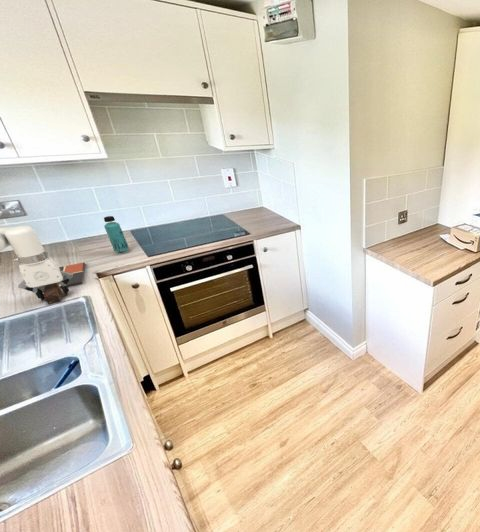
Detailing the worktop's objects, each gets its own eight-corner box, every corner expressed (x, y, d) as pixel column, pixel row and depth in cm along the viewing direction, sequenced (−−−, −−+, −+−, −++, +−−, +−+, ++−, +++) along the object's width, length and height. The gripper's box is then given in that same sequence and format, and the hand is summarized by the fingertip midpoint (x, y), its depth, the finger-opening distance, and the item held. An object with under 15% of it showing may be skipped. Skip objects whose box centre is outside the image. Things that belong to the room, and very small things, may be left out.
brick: (49, 294, 136) (44, 284, 133) (62, 291, 138) (57, 281, 136) (47, 305, 129) (42, 295, 126) (61, 301, 131) (56, 292, 129)
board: (38, 293, 136) (36, 291, 135) (46, 272, 152) (44, 269, 152) (82, 283, 144) (81, 281, 143) (85, 264, 160) (84, 262, 160)
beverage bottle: (115, 255, 169) (100, 219, 160) (114, 251, 174) (99, 216, 165) (131, 252, 173) (116, 217, 164) (129, 248, 178) (115, 214, 168)
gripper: (-2, 267, 118) (23, 307, 126) (63, 255, 128) (82, 293, 136) (3, 260, 123) (27, 299, 131) (64, 249, 133) (83, 286, 141)
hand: (55, 296), depth 133 cm, fingers open, 6 cm apart
